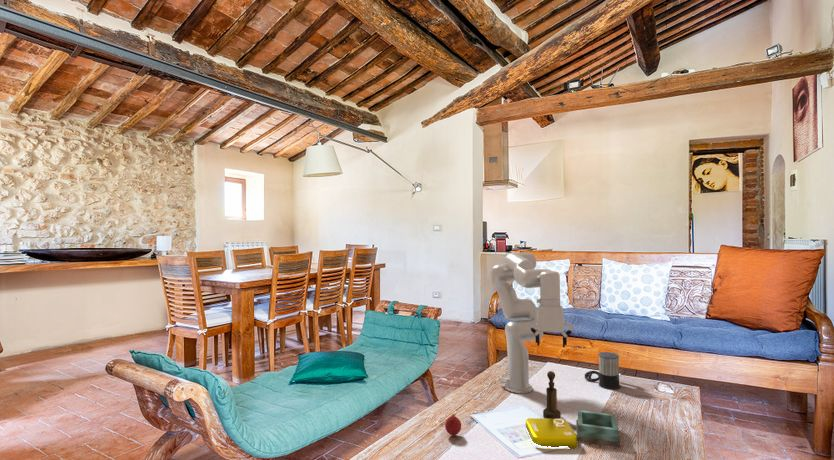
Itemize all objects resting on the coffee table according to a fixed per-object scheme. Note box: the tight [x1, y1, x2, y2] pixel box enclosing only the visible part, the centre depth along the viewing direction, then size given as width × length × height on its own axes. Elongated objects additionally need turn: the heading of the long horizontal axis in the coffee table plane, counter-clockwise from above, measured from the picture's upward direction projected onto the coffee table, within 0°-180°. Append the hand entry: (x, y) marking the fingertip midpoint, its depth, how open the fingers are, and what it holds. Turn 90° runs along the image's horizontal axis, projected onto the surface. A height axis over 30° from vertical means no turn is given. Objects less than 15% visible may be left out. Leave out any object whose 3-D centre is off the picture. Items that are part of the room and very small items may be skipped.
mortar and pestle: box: [542, 370, 562, 419], centre depth 166 cm, size 7×6×18 cm
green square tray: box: [575, 409, 622, 449], centre depth 151 cm, size 14×14×6 cm
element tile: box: [525, 417, 578, 450], centre depth 149 cm, size 15×15×5 cm
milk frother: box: [584, 351, 621, 390], centre depth 201 cm, size 14×16×15 cm
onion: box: [444, 413, 462, 437], centre depth 152 cm, size 6×6×8 cm
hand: (551, 345), depth 166 cm, fingers open, 9 cm apart
